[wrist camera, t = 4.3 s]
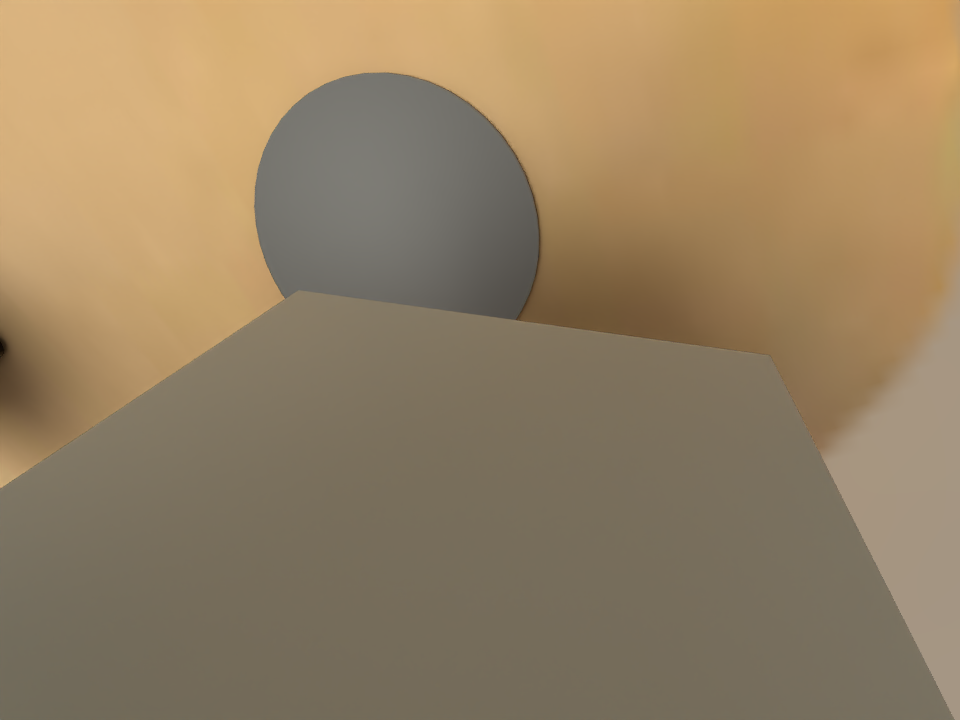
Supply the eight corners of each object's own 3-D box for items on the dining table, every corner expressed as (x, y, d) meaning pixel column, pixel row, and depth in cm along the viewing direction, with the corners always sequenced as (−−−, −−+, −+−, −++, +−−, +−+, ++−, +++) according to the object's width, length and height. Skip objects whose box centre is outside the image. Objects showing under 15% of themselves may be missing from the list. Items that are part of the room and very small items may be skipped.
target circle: (396, 413, 22) (395, 416, 22) (207, 217, 20) (203, 218, 20) (603, 263, 18) (603, 265, 17) (385, -11, 15) (382, -13, 15)
